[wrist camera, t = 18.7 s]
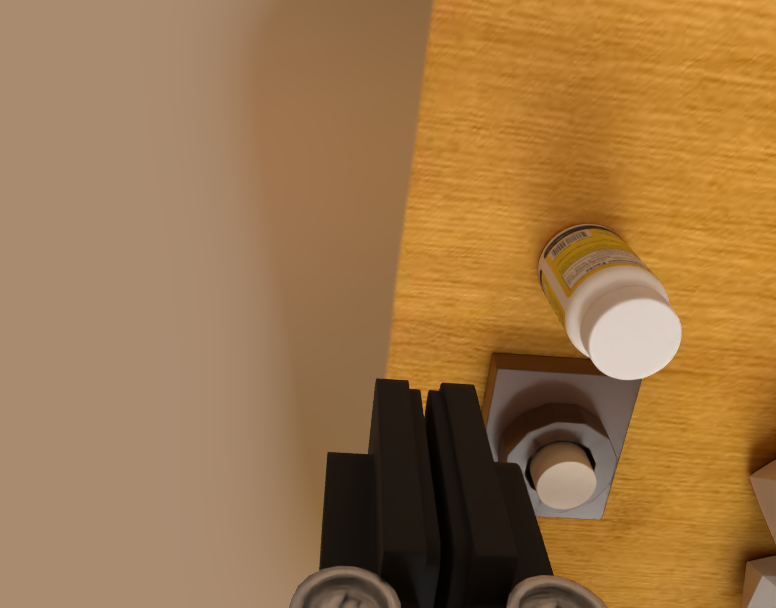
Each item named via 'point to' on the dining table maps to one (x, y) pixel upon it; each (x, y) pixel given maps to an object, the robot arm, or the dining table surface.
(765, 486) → the rock
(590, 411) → the lamp base
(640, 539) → the dining table surface
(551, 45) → the dining table surface
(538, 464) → the button
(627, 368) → the supplement bottle
